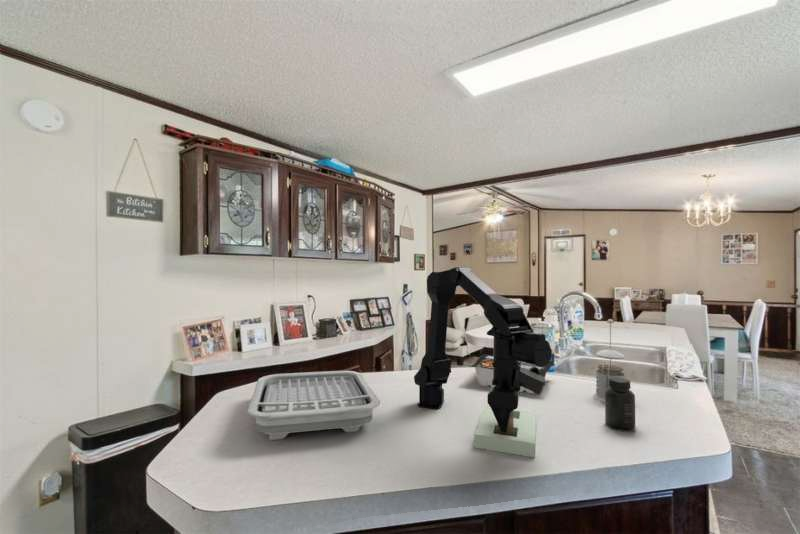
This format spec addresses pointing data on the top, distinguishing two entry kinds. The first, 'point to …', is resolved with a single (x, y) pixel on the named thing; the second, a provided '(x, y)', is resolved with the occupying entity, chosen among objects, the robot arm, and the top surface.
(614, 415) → the supplement bottle
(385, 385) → the top surface
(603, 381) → the french press
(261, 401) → the dish rack
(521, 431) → the board
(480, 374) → the food packaging
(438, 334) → the robot arm
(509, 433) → the peg
